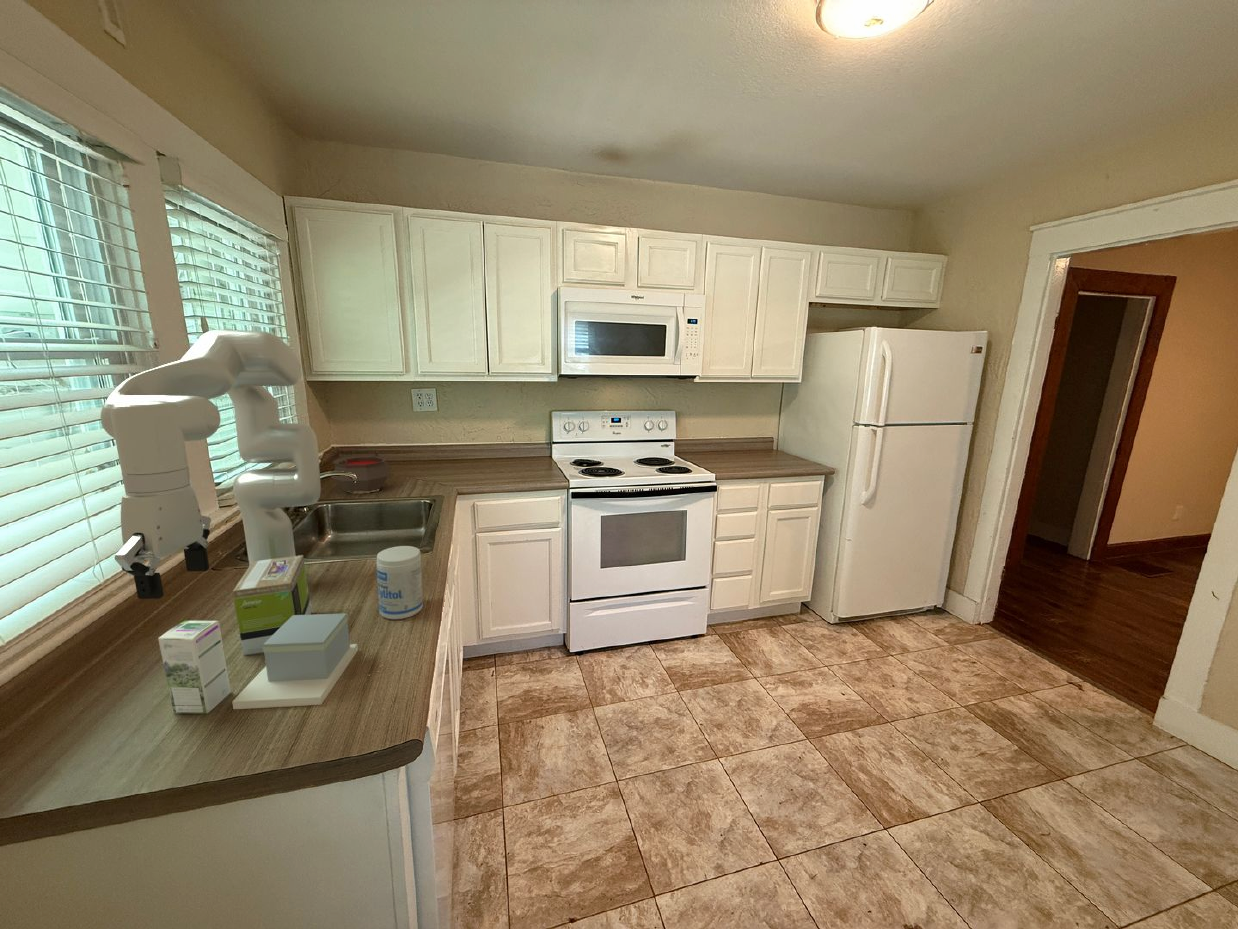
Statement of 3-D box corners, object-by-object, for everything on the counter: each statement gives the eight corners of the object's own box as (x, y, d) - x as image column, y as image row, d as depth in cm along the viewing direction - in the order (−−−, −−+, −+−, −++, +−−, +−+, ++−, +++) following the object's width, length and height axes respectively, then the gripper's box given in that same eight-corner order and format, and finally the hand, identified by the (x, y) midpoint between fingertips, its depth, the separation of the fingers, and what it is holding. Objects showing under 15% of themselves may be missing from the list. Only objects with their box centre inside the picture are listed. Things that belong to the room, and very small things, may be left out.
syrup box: (232, 692, 87) (220, 618, 84) (206, 715, 81) (192, 637, 78) (199, 691, 87) (186, 618, 84) (171, 715, 81) (156, 637, 78)
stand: (284, 653, 98) (279, 613, 97) (357, 650, 100) (354, 610, 98) (233, 709, 83) (225, 662, 81) (321, 704, 85) (315, 658, 83)
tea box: (261, 620, 110) (252, 559, 107) (312, 612, 114) (305, 553, 111) (241, 657, 97) (230, 589, 94) (300, 647, 101) (292, 581, 98)
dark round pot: (356, 481, 227) (353, 447, 224) (404, 485, 224) (402, 450, 221) (319, 495, 204) (314, 457, 201) (371, 499, 201) (368, 460, 197)
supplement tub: (372, 621, 111) (367, 561, 108) (390, 600, 121) (385, 544, 117) (415, 621, 112) (411, 561, 109) (429, 601, 121) (426, 545, 118)
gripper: (175, 468, 83) (191, 562, 87) (76, 496, 66) (100, 611, 70) (222, 468, 84) (236, 561, 88) (136, 496, 67) (157, 609, 71)
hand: (176, 583), depth 79 cm, fingers open, 9 cm apart
